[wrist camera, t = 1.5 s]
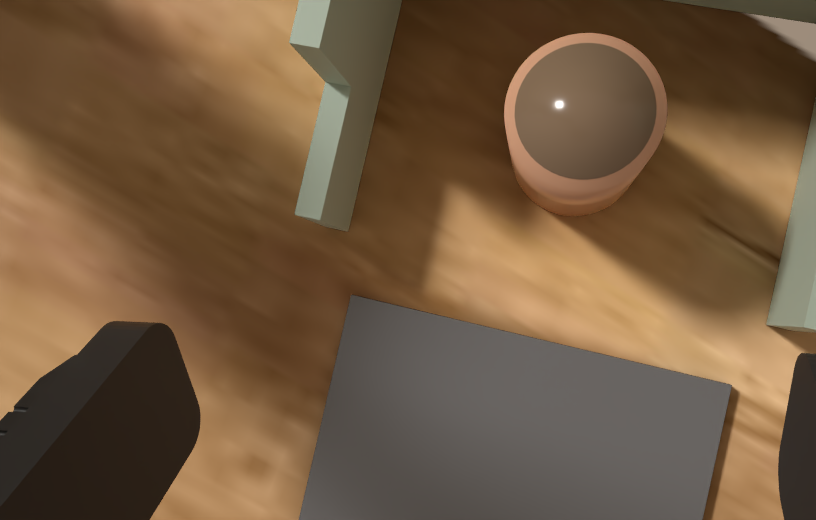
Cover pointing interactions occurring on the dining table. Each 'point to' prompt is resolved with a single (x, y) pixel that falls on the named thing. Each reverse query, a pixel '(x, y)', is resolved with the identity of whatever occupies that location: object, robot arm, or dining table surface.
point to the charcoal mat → (504, 428)
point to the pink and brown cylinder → (583, 121)
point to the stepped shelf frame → (359, 95)
